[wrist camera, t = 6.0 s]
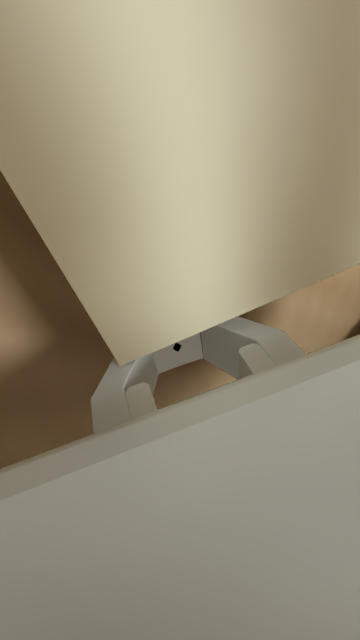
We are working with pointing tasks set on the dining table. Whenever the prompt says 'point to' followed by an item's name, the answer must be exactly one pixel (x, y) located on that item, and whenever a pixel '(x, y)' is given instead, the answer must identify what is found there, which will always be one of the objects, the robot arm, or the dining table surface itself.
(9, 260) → the dining table surface
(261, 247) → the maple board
